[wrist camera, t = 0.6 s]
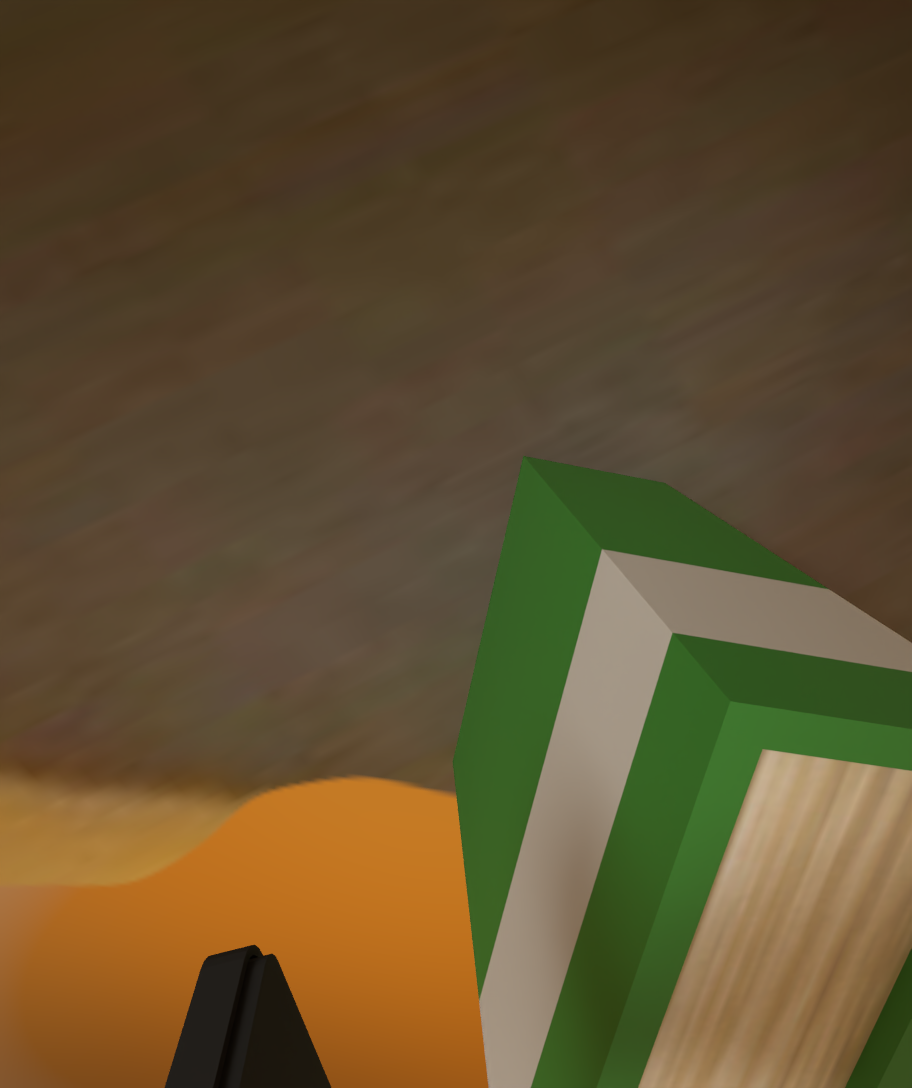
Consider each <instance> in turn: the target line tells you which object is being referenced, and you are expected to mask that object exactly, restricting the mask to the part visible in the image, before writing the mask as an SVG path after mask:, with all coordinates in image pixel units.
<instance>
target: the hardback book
mask: <svg viewBox="0 0 912 1088" xmlns="http://www.w3.org/2000/svg"><path fill="white" fill-rule="evenodd" d="M453 768H454V777H455V786H456V795H457V803H458V813H459V822H460V831H461V840H462V849H463V858H464V868H465V877H466V884H467V894H468V904H469V912H470V922H471V931H472V940H473V949H474V958H475V967H476V976H477V985H478V994H479V1003H480V1012H481V1020H482V1030H483V1039H484V1048H485V1057H486V1067H487V1076H488V1085H489V1088H912V643H911V642H910V641H908V640H906V639H905V638H903V637H902V636H900V635H899V634H897V633H896V632H894V631H893V630H891V629H889V628H888V627H886V626H885V625H883V624H882V623H880V622H879V621H877V620H876V619H874V618H872V617H871V616H869V615H868V614H866V613H865V612H863V611H862V610H860V609H859V608H857V607H855V606H854V605H852V604H851V603H849V602H848V601H846V600H845V599H843V598H842V597H840V596H839V595H837V594H835V593H834V592H832V591H831V590H829V589H828V588H826V587H825V586H823V585H822V584H820V583H818V582H817V581H815V580H814V579H812V578H811V577H809V576H808V575H806V574H805V573H803V572H801V571H800V570H798V569H797V568H795V567H794V566H792V565H791V564H789V563H788V562H786V561H784V560H783V559H781V558H780V557H778V556H777V555H775V554H774V553H772V552H771V551H769V550H768V549H766V548H764V547H763V546H761V545H760V544H758V543H757V542H755V541H754V540H752V539H751V538H749V537H747V536H746V535H744V534H743V533H741V532H740V531H738V530H737V529H735V528H734V527H732V526H730V525H729V524H727V523H726V522H724V521H723V520H721V519H720V518H718V517H717V516H715V515H713V514H712V513H710V512H709V511H707V510H706V509H704V508H703V507H701V506H700V505H698V504H696V503H695V502H693V501H692V500H690V499H689V498H687V497H686V496H684V495H683V494H681V493H680V492H678V491H676V490H675V489H673V488H672V487H670V486H669V485H667V484H666V483H662V482H657V481H651V480H646V479H641V478H636V477H630V476H625V475H620V474H615V473H609V472H604V471H599V470H594V469H589V468H583V467H578V466H573V465H568V464H562V463H557V462H552V461H547V460H541V459H536V458H531V457H526V456H523V460H522V465H521V469H520V473H519V478H518V482H517V486H516V491H515V495H514V499H513V504H512V508H511V512H510V517H509V521H508V525H507V530H506V534H505V538H504V543H503V547H502V551H501V556H500V560H499V564H498V569H497V573H496V577H495V582H494V586H493V590H492V595H491V599H490V603H489V608H488V612H487V616H486V621H485V625H484V629H483V634H482V638H481V642H480V647H479V651H478V655H477V660H476V664H475V668H474V673H473V677H472V681H471V686H470V690H469V694H468V699H467V703H466V707H465V712H464V716H463V720H462V725H461V729H460V733H459V738H458V742H457V746H456V751H455V755H454V759H453Z"/></svg>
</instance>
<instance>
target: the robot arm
mask: <svg viewBox="0 0 912 1088" xmlns="http://www.w3.org/2000/svg"><path fill="white" fill-rule="evenodd" d="M165 1088H331V1086H330V1083H329V1081H328V1079H327V1076H326V1074H325V1071H324V1069H323V1067H322V1064H321V1062H320V1060H319V1057H318V1055H317V1053H316V1050H315V1048H314V1045H313V1043H312V1041H311V1038H310V1036H309V1034H308V1031H307V1029H306V1026H305V1024H304V1022H303V1019H302V1017H301V1014H300V1012H299V1010H298V1007H297V1005H296V1003H295V1000H294V998H293V995H292V993H291V991H290V989H289V986H288V984H287V981H286V979H285V976H284V974H283V972H282V969H281V967H280V965H279V962H278V960H277V959H276V957H275V955H273V954H269V955H265V956H263V954H262V953H261V951H260V949H259V948H258V947H257V946H256V945H251V946H247V947H244V948H239V949H235V950H231V951H227V952H223V953H219V954H215V955H211V956H208V957H207V958H206V960H205V961H204V963H203V965H202V968H201V970H200V974H199V977H198V980H197V983H196V987H195V990H194V993H193V997H192V1000H191V1003H190V1006H189V1010H188V1013H187V1016H186V1019H185V1023H184V1026H183V1029H182V1033H181V1036H180V1039H179V1043H178V1046H177V1049H176V1052H175V1056H174V1059H173V1062H172V1066H171V1069H170V1072H169V1075H168V1079H167V1082H166V1085H165Z"/></svg>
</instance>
